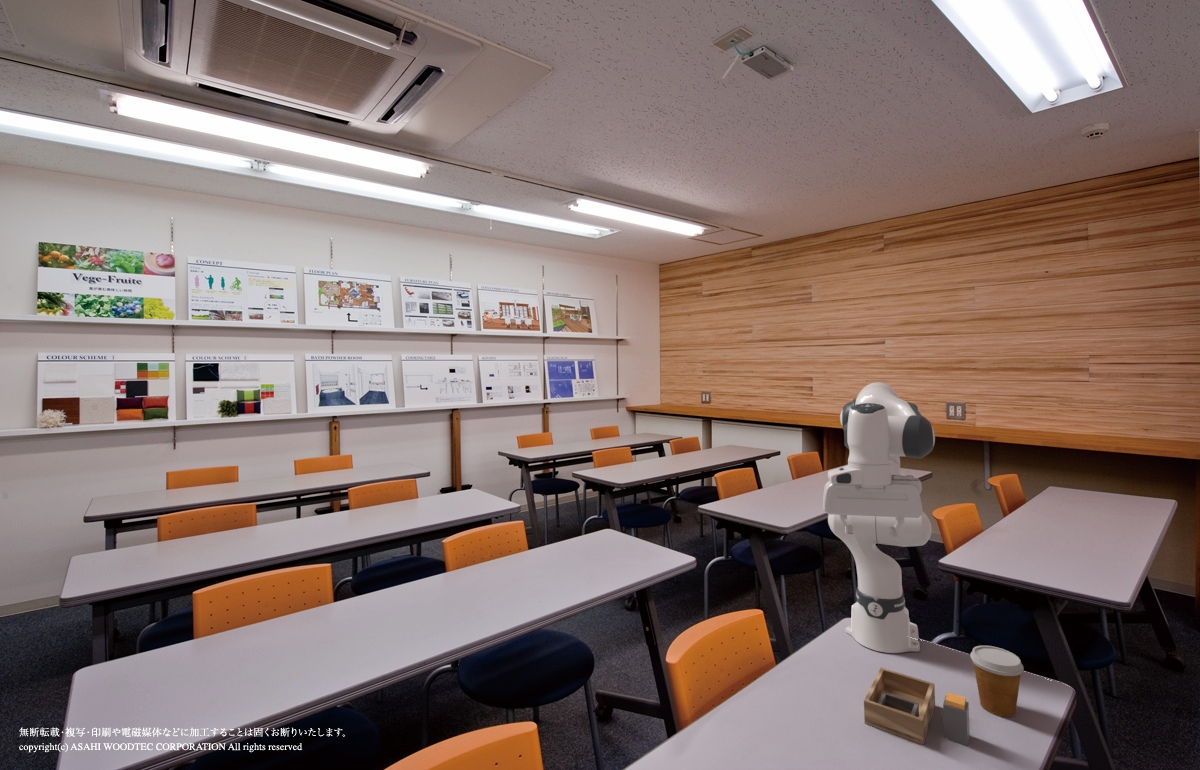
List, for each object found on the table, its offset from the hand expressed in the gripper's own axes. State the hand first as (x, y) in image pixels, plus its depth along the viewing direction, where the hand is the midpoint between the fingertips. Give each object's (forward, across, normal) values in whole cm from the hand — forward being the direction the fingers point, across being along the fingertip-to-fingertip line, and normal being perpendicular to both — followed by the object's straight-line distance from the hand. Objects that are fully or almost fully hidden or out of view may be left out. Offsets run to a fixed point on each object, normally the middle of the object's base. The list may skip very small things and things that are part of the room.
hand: (871, 534), depth 118 cm
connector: (+40, -14, +7) cm, 42 cm away
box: (+40, -4, +2) cm, 40 cm away
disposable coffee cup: (+40, -25, -5) cm, 47 cm away
